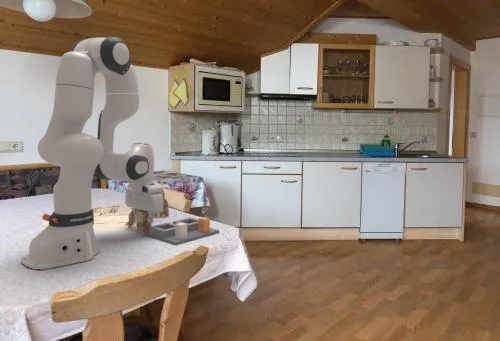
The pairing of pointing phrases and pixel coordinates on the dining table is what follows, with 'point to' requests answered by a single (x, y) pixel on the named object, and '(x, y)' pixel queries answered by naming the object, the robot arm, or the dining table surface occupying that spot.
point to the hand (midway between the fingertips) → (143, 220)
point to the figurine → (165, 209)
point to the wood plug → (142, 221)
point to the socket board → (189, 234)
